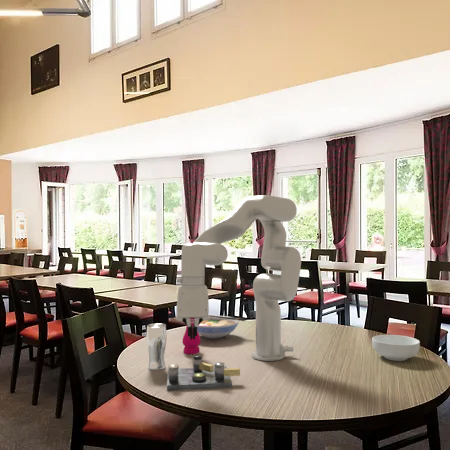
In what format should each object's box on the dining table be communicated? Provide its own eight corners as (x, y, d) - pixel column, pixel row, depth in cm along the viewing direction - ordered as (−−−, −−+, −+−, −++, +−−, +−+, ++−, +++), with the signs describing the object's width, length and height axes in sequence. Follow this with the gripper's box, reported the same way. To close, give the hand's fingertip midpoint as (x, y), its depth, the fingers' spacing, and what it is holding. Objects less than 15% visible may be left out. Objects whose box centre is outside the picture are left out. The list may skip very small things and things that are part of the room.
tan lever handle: (190, 370, 151) (190, 356, 151) (197, 367, 154) (197, 354, 154) (208, 375, 146) (208, 360, 146) (215, 372, 149) (215, 358, 149)
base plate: (226, 371, 156) (226, 361, 156) (232, 387, 140) (232, 377, 140) (167, 373, 154) (167, 364, 154) (167, 390, 138) (166, 380, 138)
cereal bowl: (426, 357, 170) (426, 338, 170) (409, 367, 158) (409, 347, 158) (383, 349, 182) (382, 331, 182) (364, 358, 170) (364, 339, 170)
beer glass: (150, 372, 155) (150, 328, 155) (144, 366, 162) (144, 324, 162) (169, 368, 159) (169, 326, 159) (162, 363, 165) (162, 322, 165)
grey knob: (214, 379, 142) (214, 365, 142) (214, 376, 145) (214, 362, 145) (240, 378, 143) (240, 364, 143) (239, 375, 146) (238, 361, 146)
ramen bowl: (176, 338, 201) (176, 320, 201) (207, 328, 220) (207, 311, 220) (222, 346, 187) (222, 327, 187) (251, 335, 206) (250, 317, 206)
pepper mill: (198, 355, 175) (197, 303, 175) (180, 354, 177) (179, 303, 177) (202, 350, 182) (202, 300, 182) (185, 349, 184) (185, 300, 184)
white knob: (178, 381, 140) (178, 366, 140) (168, 382, 140) (168, 367, 140) (178, 373, 148) (178, 359, 148) (168, 373, 148) (168, 359, 148)
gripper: (169, 283, 142) (168, 341, 141) (216, 282, 143) (216, 340, 143) (169, 280, 149) (169, 336, 149) (214, 280, 151) (214, 335, 151)
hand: (192, 338), depth 146 cm, fingers closed
